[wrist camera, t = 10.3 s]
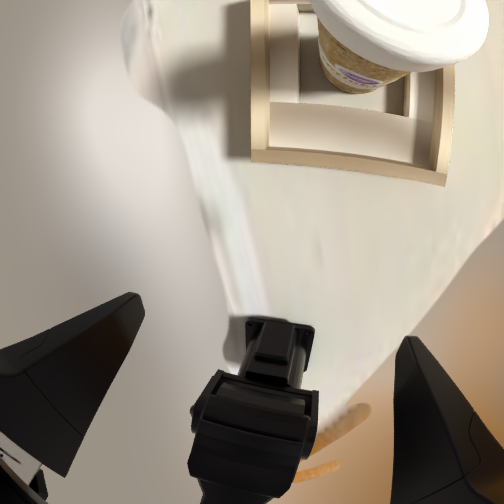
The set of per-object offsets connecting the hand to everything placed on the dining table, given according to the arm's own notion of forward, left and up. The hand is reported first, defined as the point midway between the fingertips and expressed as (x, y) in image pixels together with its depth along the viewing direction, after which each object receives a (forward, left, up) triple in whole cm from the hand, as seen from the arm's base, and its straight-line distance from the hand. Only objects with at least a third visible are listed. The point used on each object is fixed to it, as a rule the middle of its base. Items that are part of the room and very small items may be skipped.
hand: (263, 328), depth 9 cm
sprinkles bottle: (+10, -3, -13) cm, 17 cm away
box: (+9, -3, -13) cm, 16 cm away
